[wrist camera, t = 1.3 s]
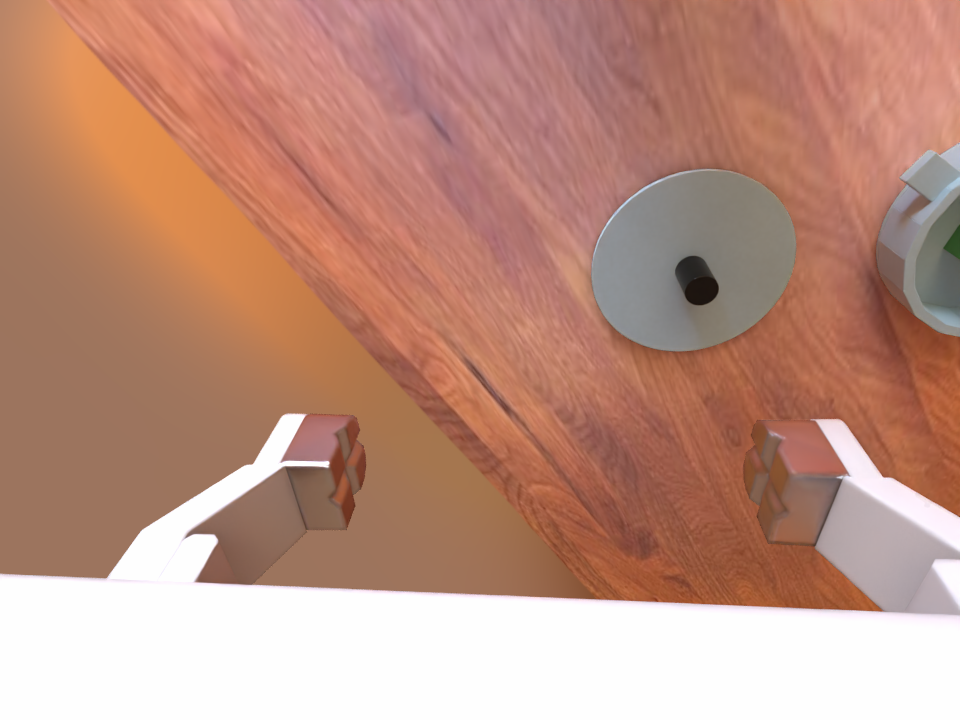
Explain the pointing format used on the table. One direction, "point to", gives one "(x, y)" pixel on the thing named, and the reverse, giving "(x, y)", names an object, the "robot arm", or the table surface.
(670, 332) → the pan lid
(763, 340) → the table surface
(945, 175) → the pan
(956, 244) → the block
